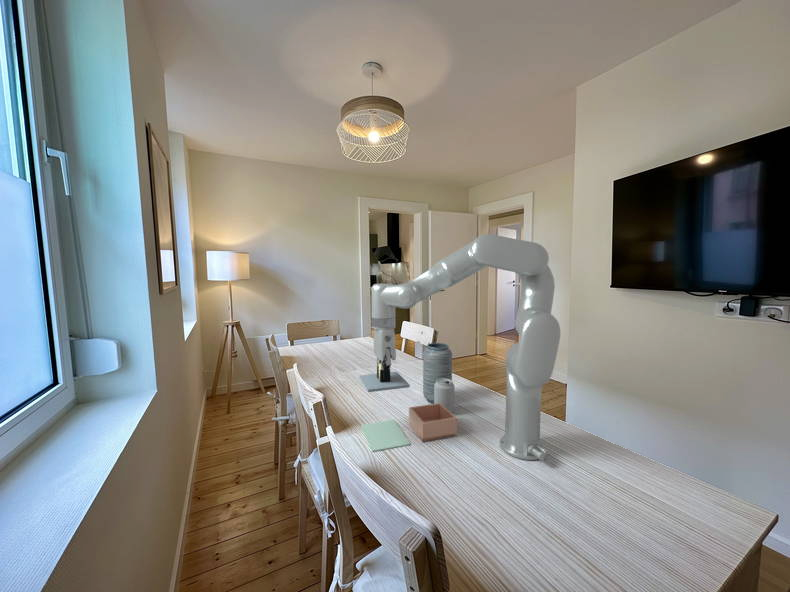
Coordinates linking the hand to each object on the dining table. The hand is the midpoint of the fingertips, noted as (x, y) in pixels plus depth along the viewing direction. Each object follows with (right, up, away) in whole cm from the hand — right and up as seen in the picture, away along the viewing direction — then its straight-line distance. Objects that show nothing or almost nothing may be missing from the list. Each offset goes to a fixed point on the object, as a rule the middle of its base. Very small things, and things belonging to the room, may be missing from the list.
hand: (383, 379), depth 98 cm
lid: (0, -1, 0) cm, 1 cm away
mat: (0, -18, +1) cm, 19 cm away
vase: (+21, -16, +28) cm, 39 cm away
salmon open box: (+16, -18, +4) cm, 25 cm away
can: (+22, -17, +18) cm, 33 cm away
